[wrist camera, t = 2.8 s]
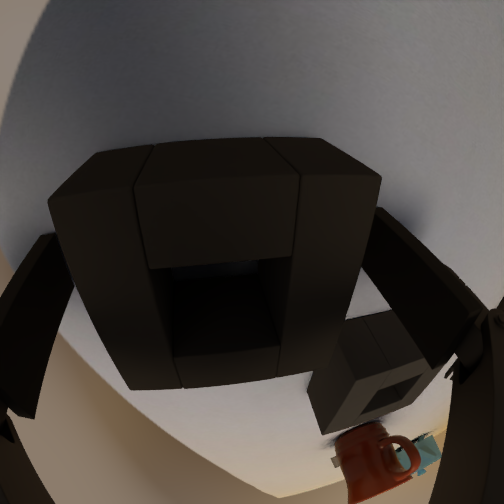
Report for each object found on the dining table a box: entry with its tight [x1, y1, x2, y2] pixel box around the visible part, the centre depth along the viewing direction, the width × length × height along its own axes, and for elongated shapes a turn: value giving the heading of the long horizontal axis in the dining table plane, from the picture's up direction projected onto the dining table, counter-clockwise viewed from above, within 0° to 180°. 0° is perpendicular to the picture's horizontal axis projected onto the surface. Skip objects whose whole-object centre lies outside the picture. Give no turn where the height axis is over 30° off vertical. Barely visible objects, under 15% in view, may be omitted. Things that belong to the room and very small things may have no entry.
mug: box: [335, 422, 421, 504], centre depth 27 cm, size 12×9×10 cm
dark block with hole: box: [47, 137, 382, 390], centre depth 10 cm, size 8×8×4 cm
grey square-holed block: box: [307, 310, 445, 435], centre depth 17 cm, size 8×8×4 cm
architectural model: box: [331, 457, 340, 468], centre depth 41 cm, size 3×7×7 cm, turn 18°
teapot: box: [395, 435, 442, 476], centre depth 54 cm, size 16×18×11 cm
